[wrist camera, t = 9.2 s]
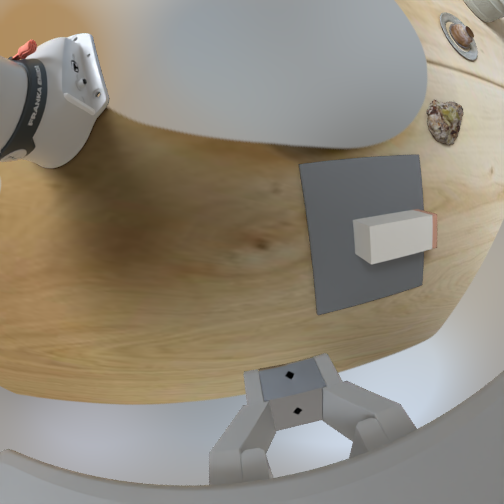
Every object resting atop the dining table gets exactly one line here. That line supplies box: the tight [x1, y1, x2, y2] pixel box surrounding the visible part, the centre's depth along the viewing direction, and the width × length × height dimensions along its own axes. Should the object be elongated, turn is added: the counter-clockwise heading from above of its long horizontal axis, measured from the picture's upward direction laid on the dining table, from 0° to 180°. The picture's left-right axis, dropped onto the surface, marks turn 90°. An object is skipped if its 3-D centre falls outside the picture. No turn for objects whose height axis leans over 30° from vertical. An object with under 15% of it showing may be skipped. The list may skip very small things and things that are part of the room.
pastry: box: [440, 13, 478, 60], centre depth 26 cm, size 12×12×5 cm
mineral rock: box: [427, 100, 463, 145], centre depth 32 cm, size 11×4×8 cm
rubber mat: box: [299, 155, 424, 315], centre depth 37 cm, size 22×20×1 cm
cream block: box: [353, 209, 437, 264], centre depth 34 cm, size 5×5×12 cm
